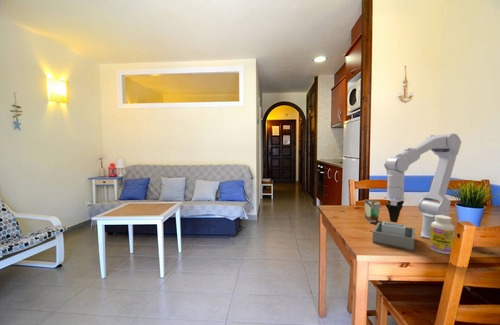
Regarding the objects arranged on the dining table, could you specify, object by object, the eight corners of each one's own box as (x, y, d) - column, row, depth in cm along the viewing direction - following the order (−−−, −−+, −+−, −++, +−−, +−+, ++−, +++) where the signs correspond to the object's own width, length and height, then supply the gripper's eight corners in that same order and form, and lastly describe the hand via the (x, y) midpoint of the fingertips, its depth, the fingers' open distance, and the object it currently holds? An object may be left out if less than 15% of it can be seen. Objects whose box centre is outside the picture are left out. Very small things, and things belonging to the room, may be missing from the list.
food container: (384, 225, 115) (384, 205, 114) (370, 224, 116) (371, 204, 115) (376, 218, 127) (376, 200, 126) (363, 217, 128) (364, 199, 128)
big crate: (414, 238, 97) (414, 228, 96) (413, 251, 85) (414, 239, 85) (377, 232, 105) (378, 222, 104) (372, 242, 93) (372, 231, 93)
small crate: (405, 239, 94) (405, 225, 94) (404, 243, 91) (405, 228, 90) (382, 235, 99) (383, 221, 99) (381, 238, 95) (381, 224, 95)
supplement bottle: (428, 250, 85) (429, 216, 85) (431, 245, 90) (432, 213, 89) (452, 256, 80) (454, 220, 80) (454, 250, 85) (455, 216, 84)
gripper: (386, 183, 102) (385, 214, 103) (381, 188, 90) (381, 222, 91) (405, 185, 98) (404, 216, 98) (403, 189, 86) (402, 225, 87)
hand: (394, 219), depth 94 cm, fingers open, 7 cm apart
